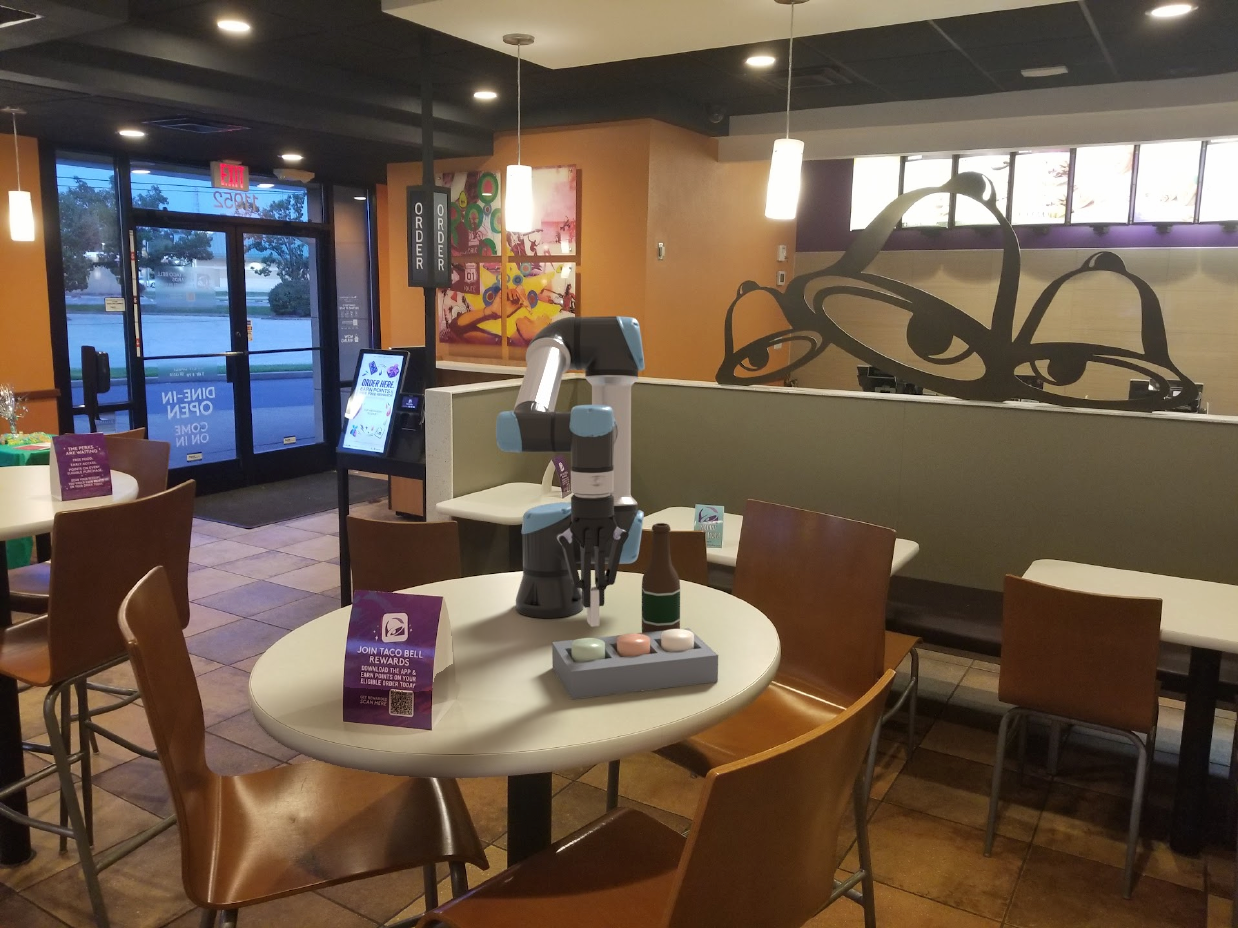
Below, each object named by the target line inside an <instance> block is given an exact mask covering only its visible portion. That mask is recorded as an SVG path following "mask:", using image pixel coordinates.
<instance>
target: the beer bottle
mask: <svg viewBox="0 0 1238 928" xmlns="http://www.w3.org/2000/svg"><path fill="white" fill-rule="evenodd" d="M671 530H672V529H671V527H670V524H668V523H664V522H658V523H655V524H652V527H651V531H653V532H652V543H651V546H652V547H651V557H650V563H649V565H648V566H647V568H646V569H645V571H644V572H643V576H642V581H641V633H646V632H656V631H665V630H670V629H681V582H680V581H681V580H680V577H679V574H678V572H677V570H676V569H675V567H674V566H673V563H672V558H671V544H670V543H671V542H670V531H671Z"/></svg>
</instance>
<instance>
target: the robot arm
mask: <svg viewBox="0 0 1238 928" xmlns="http://www.w3.org/2000/svg"><path fill="white" fill-rule="evenodd" d="M525 363H526V364H527V366H526V368H525V372H524V375H523V379H522V382H521V385H520V388H519V392H518V394H517V395H518V396H517V398H516V400H515V404H514V408H513V410H509V411H508V410H507V411H501V412H499V413H498V415H497V417H496V421H495V439H496V445H497V447H498V449H499V450H500V451H502V452H506V453H507V452H510V453H518V454H521V453H570V491H571V493H573V494H572V496H570V502H563V501H562V502H551V503H546V504H541V505H537V506H534V507H531V508H529V509H528V510H526V511H525V512H524V513H523V514H522V522H521V523H522V524H521V525H522V527H521V536H522V538H521V540H522V542H521V543H522V544H521V545H522V577H521V581H520V583H519V587H518V591H517V594H516V598H515V610H516V612H517V613H518V614H521V615H523V616H525V617H532V618H537V619H538V618H541V619H554V618H555V619H556V618H565V617H569V616H573V615H576V614H578V613H580V612H581V611H583V609H584V608H586V613H587V615H586V618H587V623H588V625H589V626H590V627H592V628H593V627H600V607H603V606H604V605H605V591H606V589H607V587H609V586H612V585H614V584H615V583H616V578H617V574H618V570H619V565H622V564H623V565H625V564H632V563H635V562H636V561H637V560H638V558H639V552H640V547H641V546H640V545H641V540H642V532H643V525H644V518H645V517H644V516H645V513H644V511H642V510H640V509H638V502H637V501H636V499H634V497H632V495H631V490H632V489H631V488H632V487H631V486H632V485H631V483H632V482H631V480H632V479H631V477H632V475H631V474H632V473H631V470H632V469H631V467H632V465H631V464H632V463H631V461H632V429H631V428H632V420H631V419H632V386H633V385H634V384H635V382H637V380H638V379H639V371H644V370H645V368H646V365H645V358H644V349H643V340H642V334H641V327H640V323H639V321H638V320H637V319H636V318H635V317H630V316H629V317H628V316H618V315H616V316H568V317H567V316H566V317H563V318H560V319H557V320H554V321H553V322H551V323H549V324H548V325H546V326H545V327H543V328H542V329H540V331H538V333H536V334H535V335H534V336H533V338H532V339H531V340H530V342H529V344H528V346H527V348H526V353H525ZM567 371H585V373H584V374H585V375H584V376H585V380H586V381H587V382H588V383H589V384H590V385H591V404H581V405H575V406H573V407H572V408H571V411H555V410H556V404H557V401H558V396H559V392H560V391H559V390H560V388H561V383H562V379H563V375H565V373H567ZM577 564H580V573H579V571H578V570H579V569H578V566H577ZM592 564H594V586H592ZM606 564H607V566H606ZM579 574H580V575H579Z"/></svg>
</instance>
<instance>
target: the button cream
mask: <svg viewBox="0 0 1238 928" xmlns="http://www.w3.org/2000/svg"><path fill="white" fill-rule="evenodd" d="M684 629H685V628H680V629H670V630H666V631H664V632H662V633H661V648H662V649H663V650H664V651H665V652H673V651H682V650H691V649H694V634H693V633H692V632H691V631H692V630H691V631H688V630H684Z"/></svg>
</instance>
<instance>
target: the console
mask: <svg viewBox="0 0 1238 928" xmlns="http://www.w3.org/2000/svg"><path fill="white" fill-rule="evenodd" d="M683 629H684V630H688V631H691V632H692V633H693V634H694V649H691V650H682V651H673V652H665V651H664V650H663V649H662V648H661V633H662V632H664V631H656V632H646V633H642V632H639V633H636V634H643V635H646V636H648V637H649V638H650V654H646V655H636V656H627V657H620V656H619V655H618V654H617V638H618V637H619V636H621V635H622V634H619V635H607V636H599V637H595V638H596V639H600V640H602V641H604V642H605V659H600V660H591V661H582V662H573V660H572V646H571V644H572V642H573V641H575V640H576V639H570V640H560V641H553V642H551V647H552V649H551V653H552V654H551V655H552V656H551V658H552V662H551V664H552V669H553V671H554V673H555V674H556V676H557V678H558V680H559V679H560V680H559V681H560V683H561V685H562V686H563V688H564V690H565V691H566V694H567V695H568V696H569V698H570V699H571V700H575V699H576V700H577V699H578V700H579V699H585V698H587V699H588V698H592V697H594V696H595V697H600V696H601V697H602V696H603V697H604V696H612V695H618V694H619V693H620V694H626V692H628V693H635V692H642V690H645V691H650V690H659V689H660V690H661V689H667V688H676V687H684V686H685V687H686V686H693V685H702V684H710V683H717V682H719V654H718V653H717V652H716V651H714V650H713V649H712V648H711V647H710V646H709V645H708V644H707V643H706V642H705V641H704V640H702V639H701V637H699V636H698V635H697V634H696V633H695V632H694V631H693V630H691V629H690V628H689V627H687V628H683ZM665 631H666V630H665ZM620 694H619V695H620Z"/></svg>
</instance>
